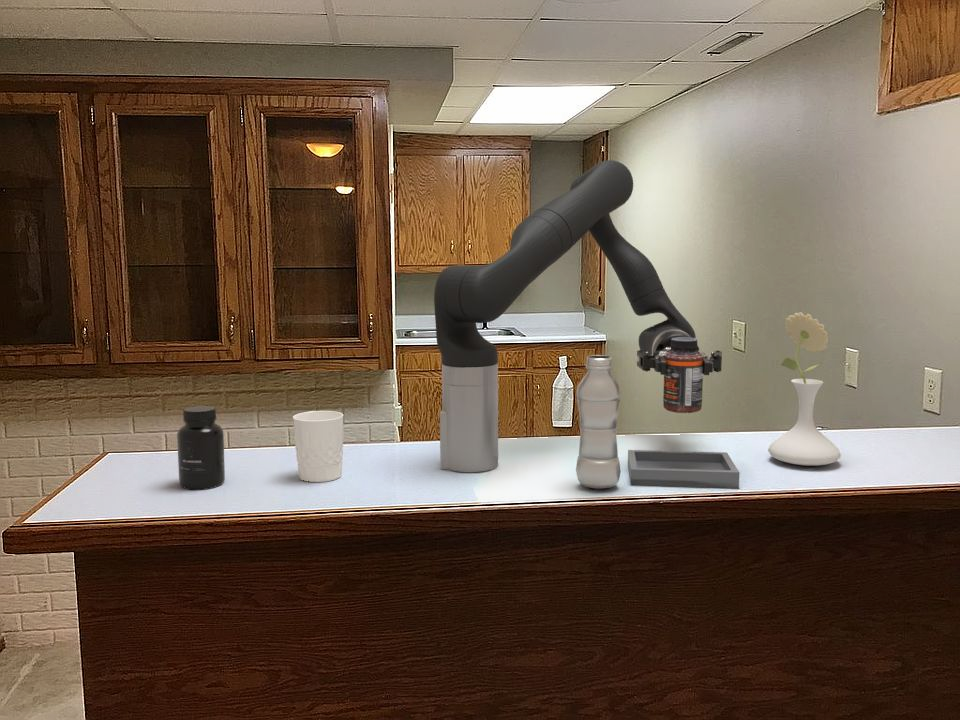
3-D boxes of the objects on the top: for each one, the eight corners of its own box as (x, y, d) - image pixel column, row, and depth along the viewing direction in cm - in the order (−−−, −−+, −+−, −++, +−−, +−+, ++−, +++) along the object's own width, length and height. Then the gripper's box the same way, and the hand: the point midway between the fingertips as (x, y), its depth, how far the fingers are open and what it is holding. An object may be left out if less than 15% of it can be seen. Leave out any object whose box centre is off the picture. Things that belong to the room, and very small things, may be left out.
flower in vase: (854, 469, 135) (863, 315, 132) (789, 473, 133) (796, 317, 130) (811, 449, 148) (818, 309, 144) (750, 452, 146) (756, 310, 143)
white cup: (315, 467, 139) (313, 409, 137) (355, 473, 135) (353, 412, 134) (285, 480, 132) (282, 418, 130) (325, 486, 128) (323, 422, 127)
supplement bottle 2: (655, 408, 132) (656, 337, 130) (683, 404, 135) (684, 334, 133) (681, 415, 127) (683, 342, 125) (710, 410, 130) (712, 338, 128)
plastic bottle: (619, 494, 123) (621, 360, 120) (573, 492, 124) (574, 359, 121) (621, 482, 129) (623, 354, 126) (577, 480, 130) (578, 353, 128)
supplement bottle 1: (183, 493, 125) (178, 414, 124) (176, 481, 131) (171, 406, 130) (229, 486, 129) (225, 410, 127) (221, 475, 135) (217, 402, 133)
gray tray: (630, 485, 127) (631, 469, 127) (627, 464, 139) (628, 449, 139) (738, 488, 125) (739, 472, 125) (726, 467, 137) (727, 452, 137)
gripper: (632, 330, 144) (637, 343, 128) (718, 330, 142) (734, 344, 126) (632, 373, 145) (637, 391, 129) (717, 374, 144) (733, 393, 127)
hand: (685, 368), depth 128 cm, fingers closed on supplement bottle 2, 6 cm apart
